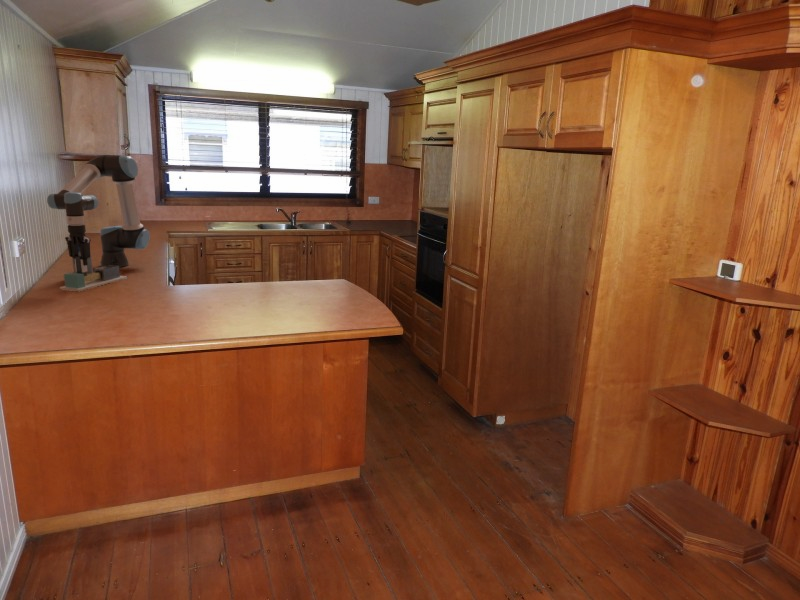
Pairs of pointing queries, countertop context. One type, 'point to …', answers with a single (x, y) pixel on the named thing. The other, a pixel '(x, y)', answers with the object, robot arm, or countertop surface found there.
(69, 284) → the green rectangular block
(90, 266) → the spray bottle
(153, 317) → the countertop surface
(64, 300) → the countertop surface
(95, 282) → the base board
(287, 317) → the countertop surface
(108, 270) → the sleeve
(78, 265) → the l-shaped block
